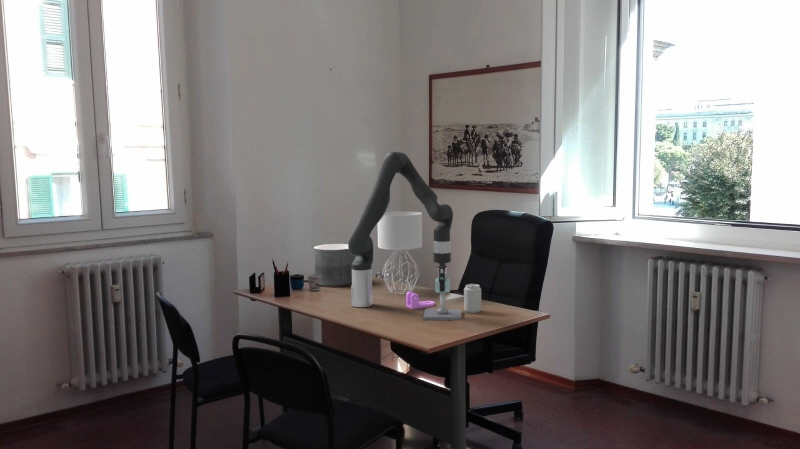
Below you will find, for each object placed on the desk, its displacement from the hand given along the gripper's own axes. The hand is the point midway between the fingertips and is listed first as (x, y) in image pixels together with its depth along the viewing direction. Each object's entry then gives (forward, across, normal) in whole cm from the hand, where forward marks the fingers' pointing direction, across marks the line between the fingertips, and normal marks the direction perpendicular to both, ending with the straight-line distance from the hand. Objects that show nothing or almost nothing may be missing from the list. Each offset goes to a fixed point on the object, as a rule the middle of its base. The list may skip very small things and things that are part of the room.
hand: (442, 289), depth 283 cm
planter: (+11, -69, -61) cm, 93 cm away
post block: (+12, 0, 0) cm, 12 cm away
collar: (+1, 0, 0) cm, 1 cm away
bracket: (+12, -18, -10) cm, 24 cm away
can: (+12, -8, +13) cm, 19 cm away
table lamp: (+12, -48, -23) cm, 55 cm away
